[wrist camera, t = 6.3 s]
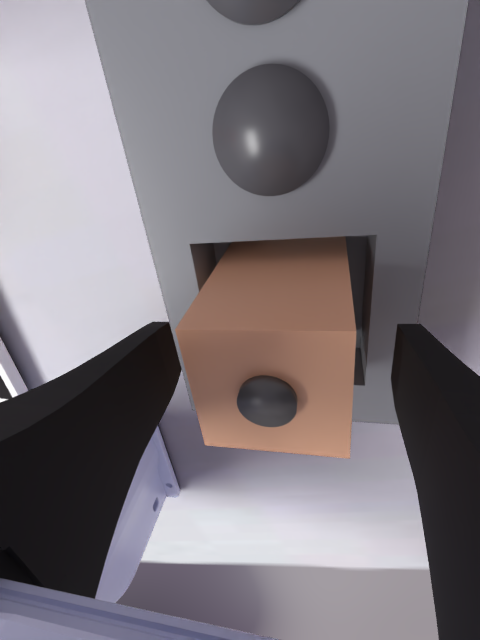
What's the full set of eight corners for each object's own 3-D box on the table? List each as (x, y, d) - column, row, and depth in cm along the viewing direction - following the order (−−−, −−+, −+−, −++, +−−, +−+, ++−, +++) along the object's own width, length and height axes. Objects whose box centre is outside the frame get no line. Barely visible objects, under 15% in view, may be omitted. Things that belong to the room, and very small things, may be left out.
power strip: (388, 369, 17) (401, 428, 14) (212, 363, 19) (191, 413, 16) (462, -247, 8) (544, -454, 5) (112, -131, 10) (20, -226, 7)
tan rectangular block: (342, 332, 16) (350, 467, 10) (244, 331, 17) (202, 453, 11) (345, 235, 13) (357, 338, 8) (232, 241, 14) (170, 336, 9)
